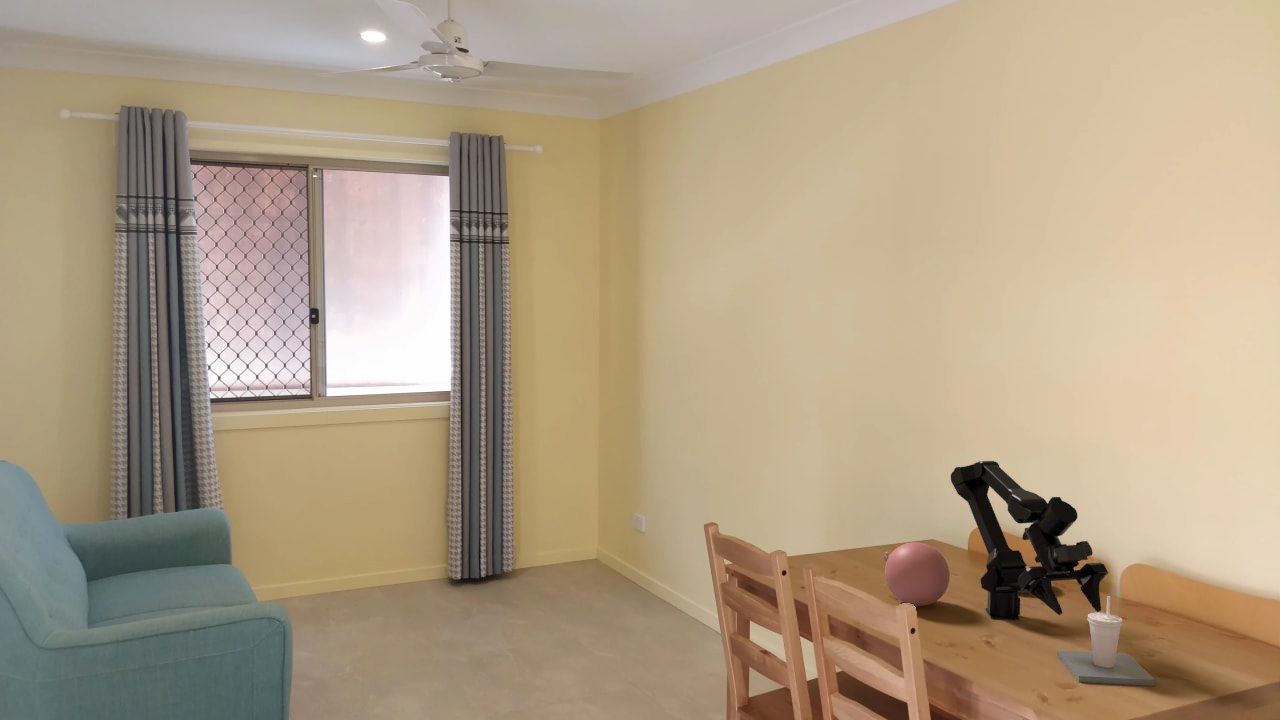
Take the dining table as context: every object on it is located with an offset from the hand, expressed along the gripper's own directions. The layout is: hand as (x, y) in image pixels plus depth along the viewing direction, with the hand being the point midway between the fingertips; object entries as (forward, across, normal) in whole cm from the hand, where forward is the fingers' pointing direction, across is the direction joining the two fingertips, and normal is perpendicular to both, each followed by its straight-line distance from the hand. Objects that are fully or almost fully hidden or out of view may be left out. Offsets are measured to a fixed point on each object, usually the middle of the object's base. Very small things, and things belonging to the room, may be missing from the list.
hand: (1080, 612), depth 197 cm
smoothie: (+11, 0, +1) cm, 11 cm away
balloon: (-22, -16, +36) cm, 46 cm away
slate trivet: (+12, 0, +1) cm, 12 cm away
